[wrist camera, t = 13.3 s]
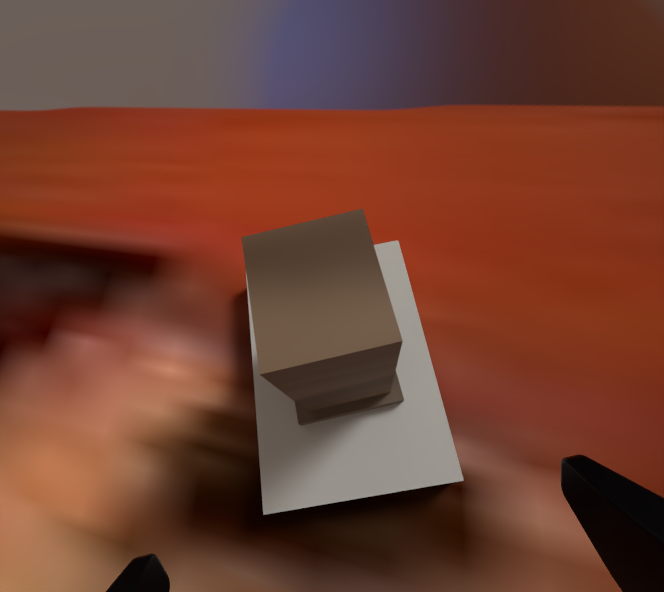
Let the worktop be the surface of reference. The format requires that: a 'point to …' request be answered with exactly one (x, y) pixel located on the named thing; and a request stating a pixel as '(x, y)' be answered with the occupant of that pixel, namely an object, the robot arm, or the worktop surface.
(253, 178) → the worktop surface
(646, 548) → the robot arm
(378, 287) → the brown box on plinth
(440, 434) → the display block
